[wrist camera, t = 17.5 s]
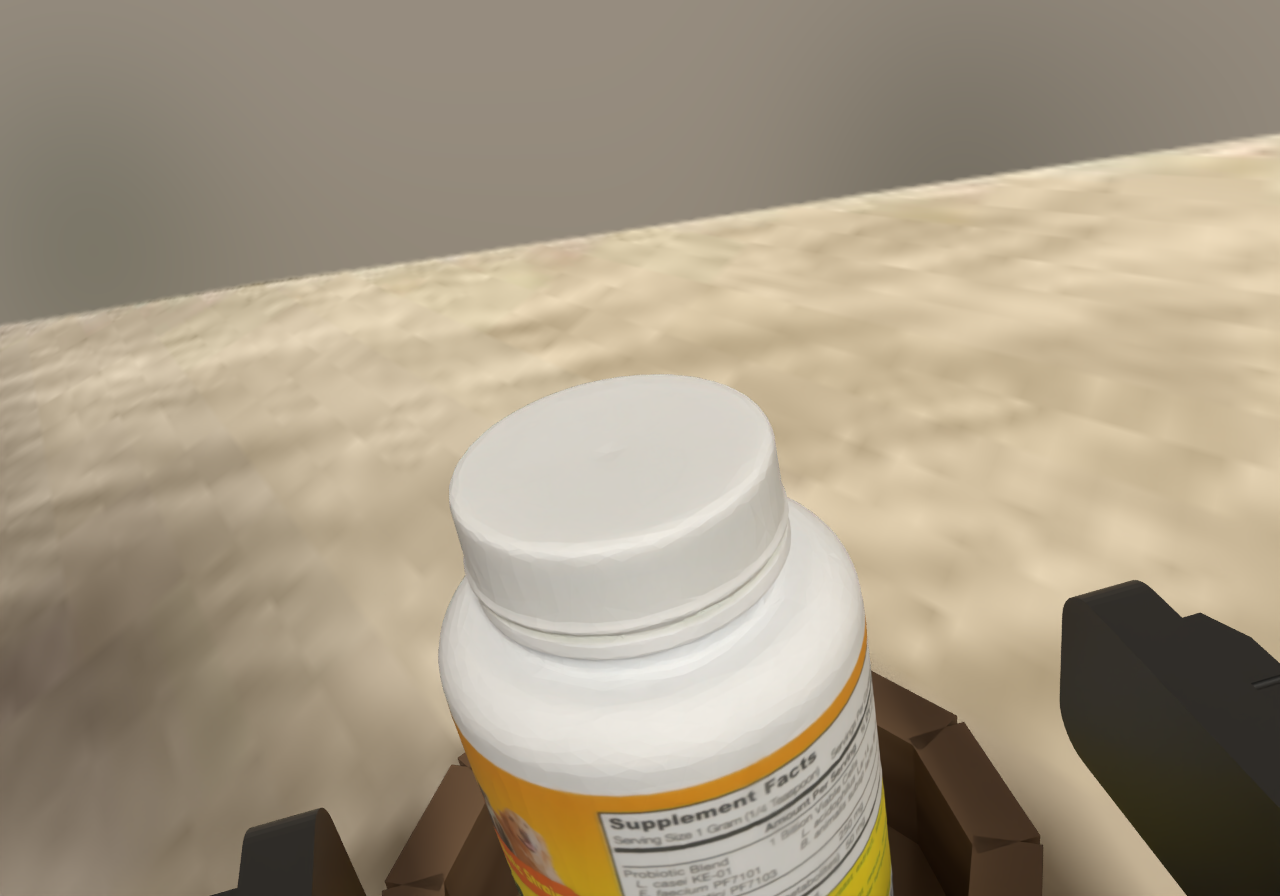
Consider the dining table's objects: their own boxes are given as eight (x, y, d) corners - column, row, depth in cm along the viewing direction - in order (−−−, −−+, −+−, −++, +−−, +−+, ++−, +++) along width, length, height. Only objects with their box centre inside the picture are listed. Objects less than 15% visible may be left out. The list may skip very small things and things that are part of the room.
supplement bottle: (554, 869, 21) (392, 394, 16) (844, 801, 21) (780, 306, 16) (580, 1187, 16) (358, 654, 11) (955, 1096, 16) (916, 525, 11)
